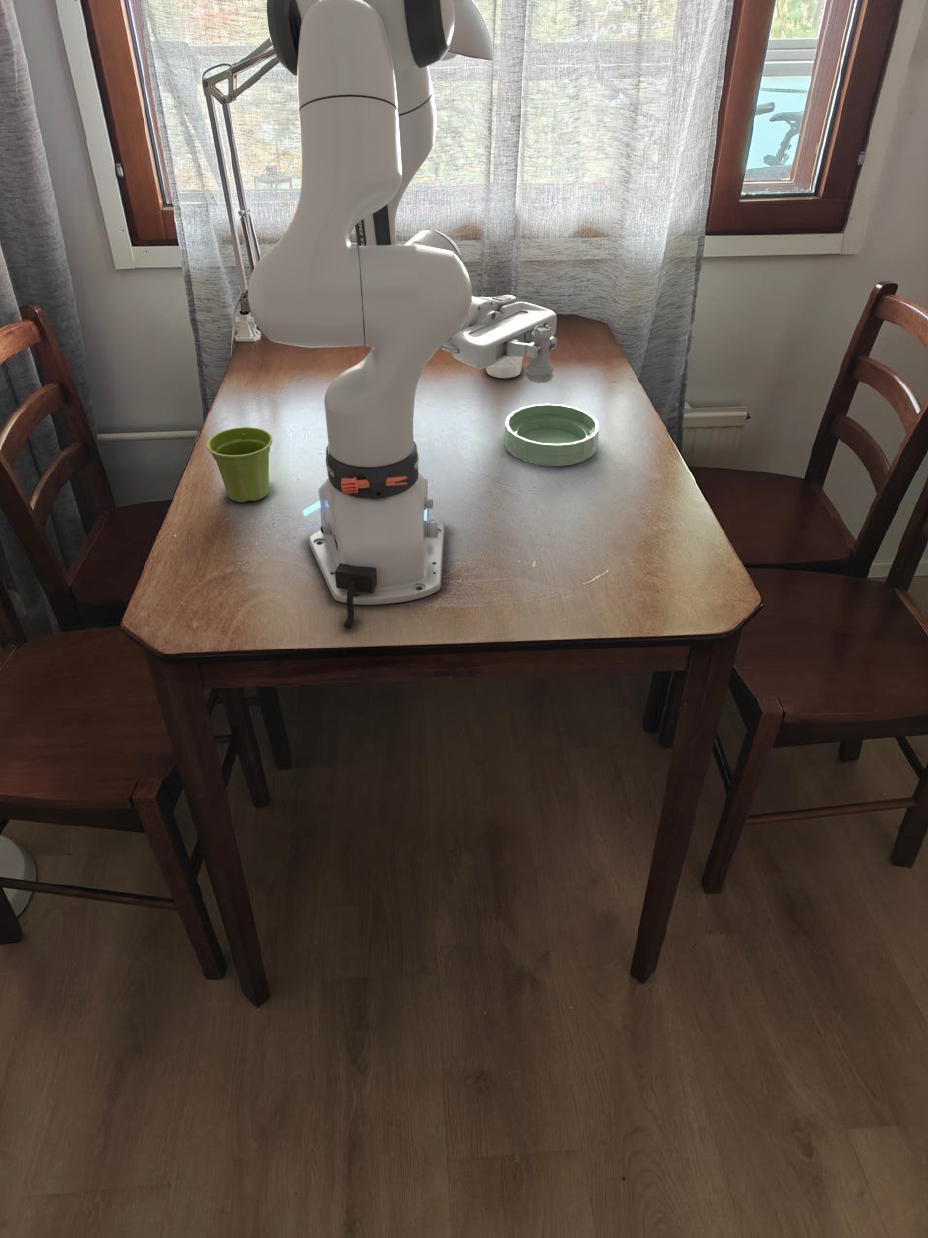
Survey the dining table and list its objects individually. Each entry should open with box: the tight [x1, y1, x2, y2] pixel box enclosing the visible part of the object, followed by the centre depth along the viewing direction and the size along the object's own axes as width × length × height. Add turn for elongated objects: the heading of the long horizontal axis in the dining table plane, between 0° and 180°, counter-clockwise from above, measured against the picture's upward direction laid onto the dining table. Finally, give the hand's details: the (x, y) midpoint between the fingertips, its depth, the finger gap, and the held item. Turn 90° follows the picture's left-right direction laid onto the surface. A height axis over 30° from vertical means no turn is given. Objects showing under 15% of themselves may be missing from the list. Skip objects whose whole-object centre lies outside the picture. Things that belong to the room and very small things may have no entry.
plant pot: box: [206, 426, 273, 503], centre depth 130 cm, size 9×9×9 cm
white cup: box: [485, 356, 524, 379], centre depth 166 cm, size 8×8×10 cm
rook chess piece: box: [525, 325, 555, 384], centre depth 135 cm, size 4×4×8 cm
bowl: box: [503, 403, 600, 467], centre depth 143 cm, size 15×15×4 cm
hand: (546, 348), depth 134 cm, fingers closed on rook chess piece, 3 cm apart
